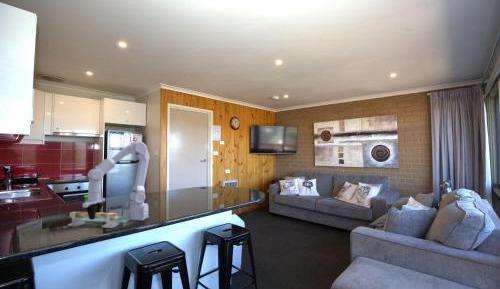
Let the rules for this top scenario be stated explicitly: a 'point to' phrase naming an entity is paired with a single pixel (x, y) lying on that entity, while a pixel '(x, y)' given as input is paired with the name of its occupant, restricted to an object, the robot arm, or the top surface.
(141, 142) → the robot arm
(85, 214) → the rail
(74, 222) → the hook stand
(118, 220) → the mat
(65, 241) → the top surface
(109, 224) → the hook stand
